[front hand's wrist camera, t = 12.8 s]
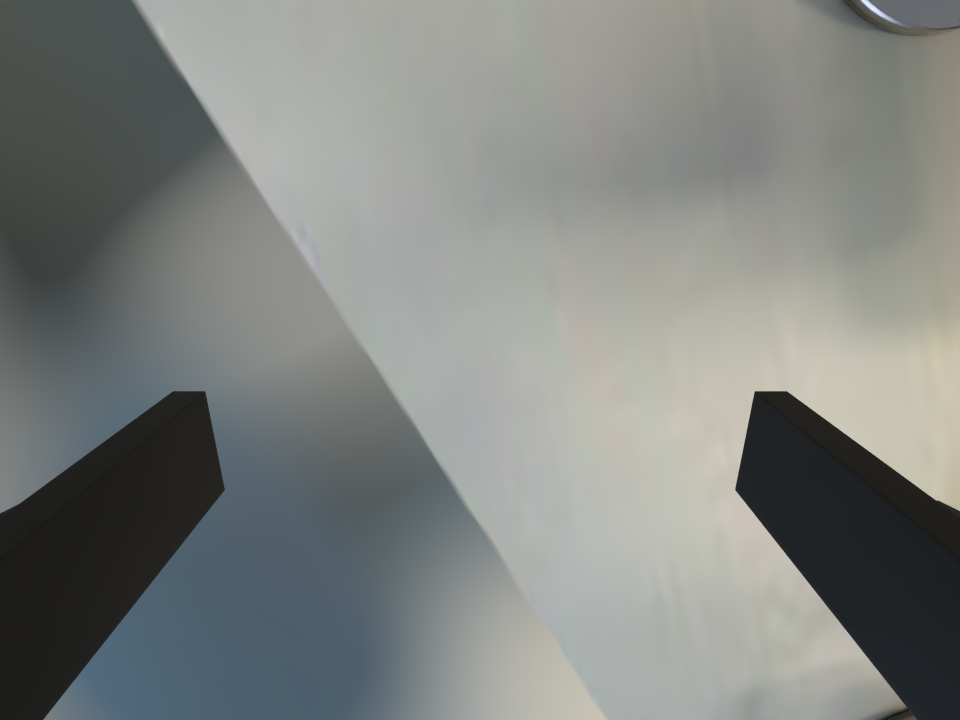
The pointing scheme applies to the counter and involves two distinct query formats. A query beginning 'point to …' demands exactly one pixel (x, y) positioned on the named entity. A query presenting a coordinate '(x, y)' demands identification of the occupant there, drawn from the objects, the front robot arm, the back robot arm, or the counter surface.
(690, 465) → the counter surface
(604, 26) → the counter surface
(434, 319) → the counter surface
